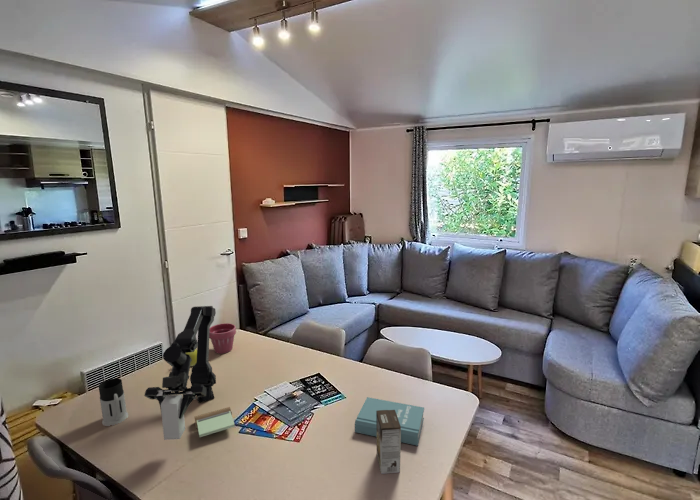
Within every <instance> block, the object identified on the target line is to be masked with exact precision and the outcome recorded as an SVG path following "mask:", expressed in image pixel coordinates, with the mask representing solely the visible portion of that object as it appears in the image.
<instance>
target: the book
mask: <svg viewBox="0 0 700 500" xmlns="http://www.w3.org/2000/svg"><path fill="white" fill-rule="evenodd" d="M378 410H395V411H396V414H397V417H398V420H399V423H400V426H401V443H403V444H409V445H413V446H416V447H417V446H419V442H420V438H421V433H422V428H423V425H424V420H425V418H424V412H425V407H422V406H417V405H414V404H413V405H412V404H406V403H401V402H396V401H391V400H384V399H379V398H373V397H369V396H367V397H366V399H365V401H364V402H363V404H362V407H361V408H360V411H358V412H359V413H358V414H357V416H356V419H354V420H355V421H354V433H358V434H363V435H366V436H371V437H375V438H377V426H376V411H378Z"/></svg>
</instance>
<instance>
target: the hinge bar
mask: <svg viewBox="0 0 700 500" xmlns="http://www.w3.org/2000/svg"><path fill="white" fill-rule="evenodd" d="M228 411H230V412H231V415H232V416H233V413H232V409H231V407H230V406H227V407H224V408H221V409H217V410H214V411H210V412H206V413H202V414H199V415H195V416H194V423H195V424H194V425H195V429H198V426H197V420H200V419H203V418H207V417H210V416H214V415H217V414H221V413H224V412H228Z"/></svg>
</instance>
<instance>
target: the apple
mask: <svg viewBox="0 0 700 500" xmlns="http://www.w3.org/2000/svg"><path fill="white" fill-rule="evenodd" d="M186 354H188V355H190V357H191V359H192V361H191V363H190V368H191V367H194V366H195V364H196V362H197V348H196V349H195V351H194V352H188V353H186Z"/></svg>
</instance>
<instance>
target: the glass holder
mask: <svg viewBox="0 0 700 500" xmlns="http://www.w3.org/2000/svg"><path fill="white" fill-rule="evenodd" d="M98 392H99V401H100V402H99V403H100V409H101V414H102V415H101V416H102V421H101V423H102V426H106V427H111V426H110V425H112V426H116V425H118V423H119V424H120V423H122V421H123V422H124V421H126V420H127V419H126V418H128V417H129V413H128V410H127V406H126V398H125V397H126V396H125V391H124V387H123V380H122V379H121V378H117V377H116V378H115V377H114V378H109V379H106V380H105V381H102V382H101V383H99V384H98ZM125 419H126V420H125ZM115 424H116V425H115Z"/></svg>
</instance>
